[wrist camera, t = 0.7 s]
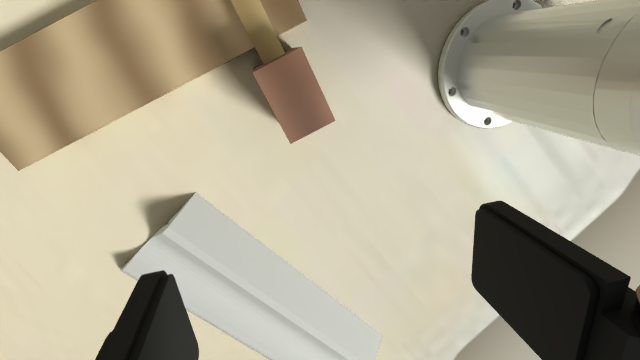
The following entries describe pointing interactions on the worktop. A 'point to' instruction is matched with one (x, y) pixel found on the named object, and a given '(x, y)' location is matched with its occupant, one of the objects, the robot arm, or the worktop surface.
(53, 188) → the worktop surface
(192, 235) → the crown molding
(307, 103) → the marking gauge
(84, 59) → the oak board
